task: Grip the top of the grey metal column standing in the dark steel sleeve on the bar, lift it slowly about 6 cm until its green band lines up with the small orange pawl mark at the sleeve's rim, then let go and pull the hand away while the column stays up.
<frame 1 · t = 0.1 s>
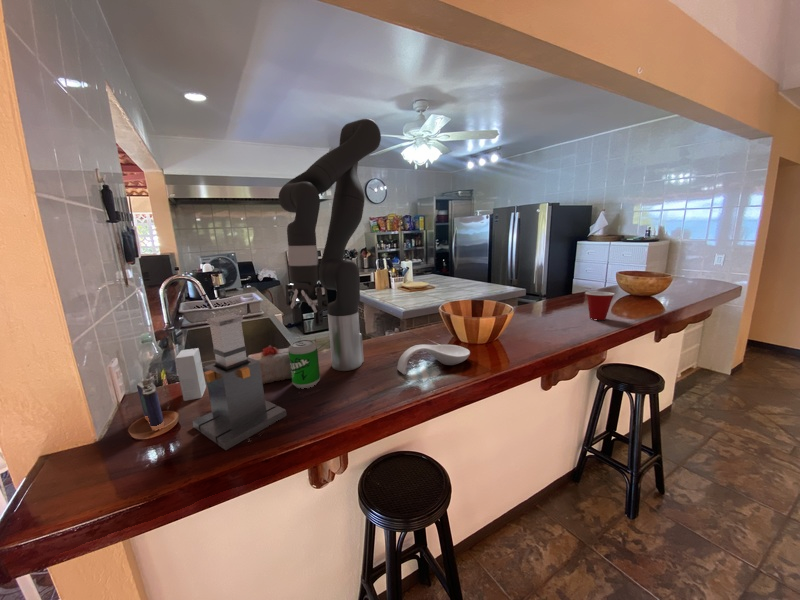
hand: (307, 323, 86), 17 cm above the countertop, tool pointing down, fingers open, 8 cm apart
spoon rest: (434, 365, 99), on the countertop
stand: (241, 421, 72), on the countertop
plastic cup: (597, 319, 140), on the countertop
column: (233, 370, 70), point 12 cm above the countertop, slide at 0.0 cm
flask: (155, 423, 73), on the countertop
skincare box: (195, 395, 85), on the countertop
food item: (274, 379, 93), on the countertop
soda can: (306, 384, 89), on the countertop
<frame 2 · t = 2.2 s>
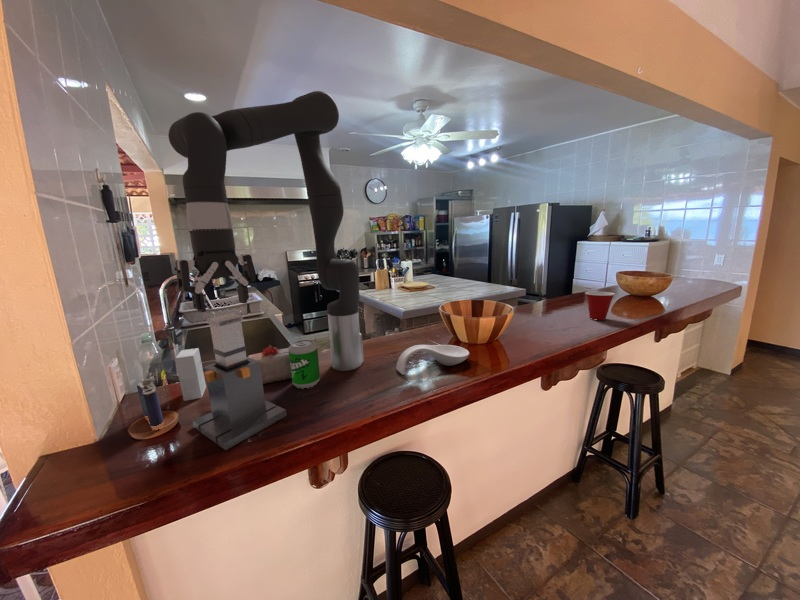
hand: (223, 307, 67), 27 cm above the countertop, tool pointing down, fingers open, 8 cm apart
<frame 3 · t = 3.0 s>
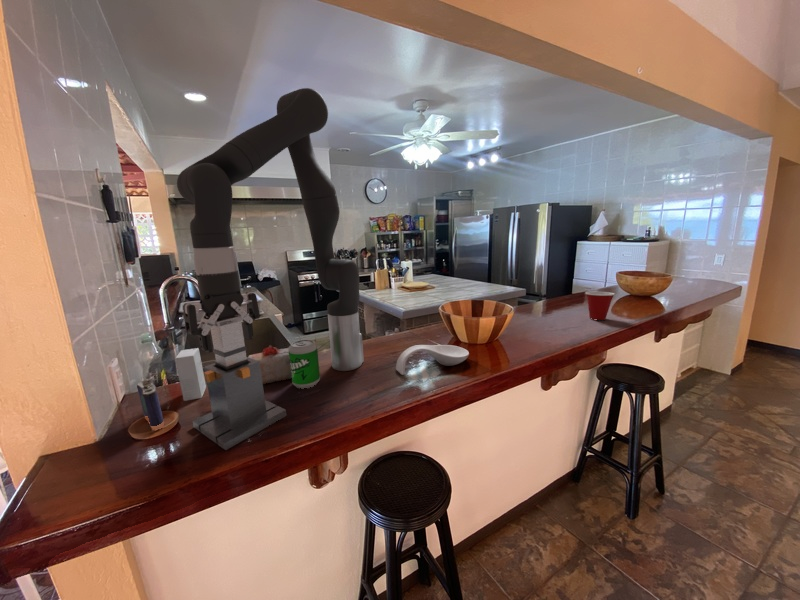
hand: (229, 345, 68), 18 cm above the countertop, tool pointing down, fingers open, 8 cm apart
nothing on the countertop moved.
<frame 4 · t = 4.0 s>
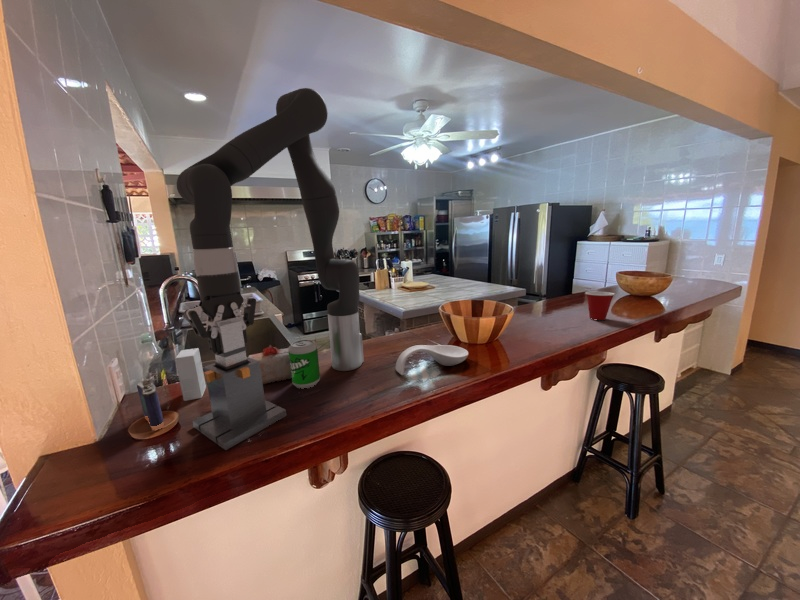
hand: (229, 349, 69), 17 cm above the countertop, tool pointing down, fingers closed on column, 4 cm apart
column: (233, 370, 70), point 12 cm above the countertop, slide at 0.0 cm, touching gripper
everything else where it was.
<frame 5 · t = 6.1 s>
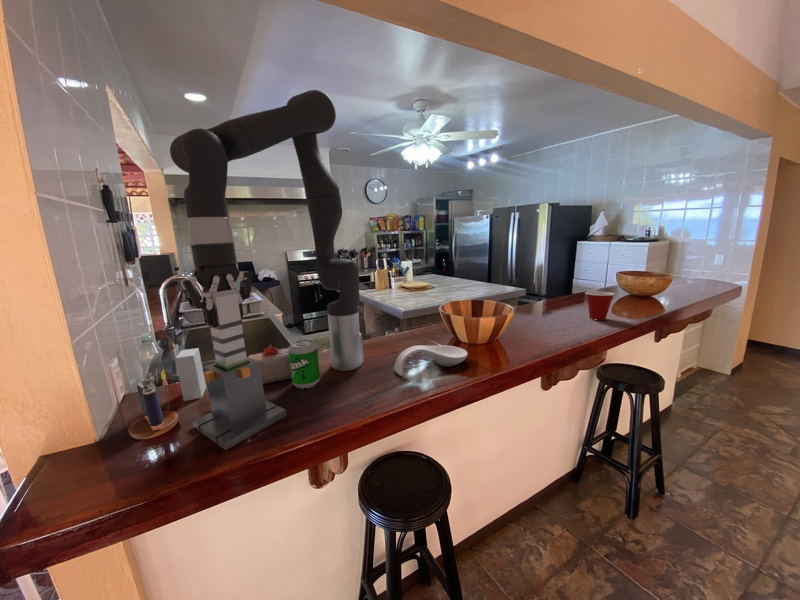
hand: (225, 323, 67), 23 cm above the countertop, tool pointing down, fingers closed on column, 4 cm apart
column: (229, 345, 68), point 18 cm above the countertop, slide at 5.9 cm, touching gripper
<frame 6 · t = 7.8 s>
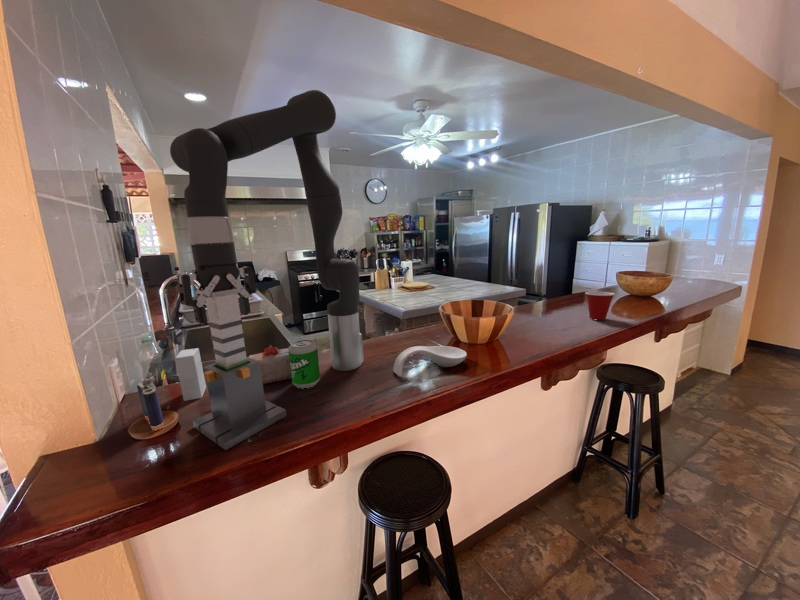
hand: (225, 319, 67), 24 cm above the countertop, tool pointing down, fingers open, 8 cm apart
column: (229, 345, 68), point 18 cm above the countertop, slide at 5.9 cm
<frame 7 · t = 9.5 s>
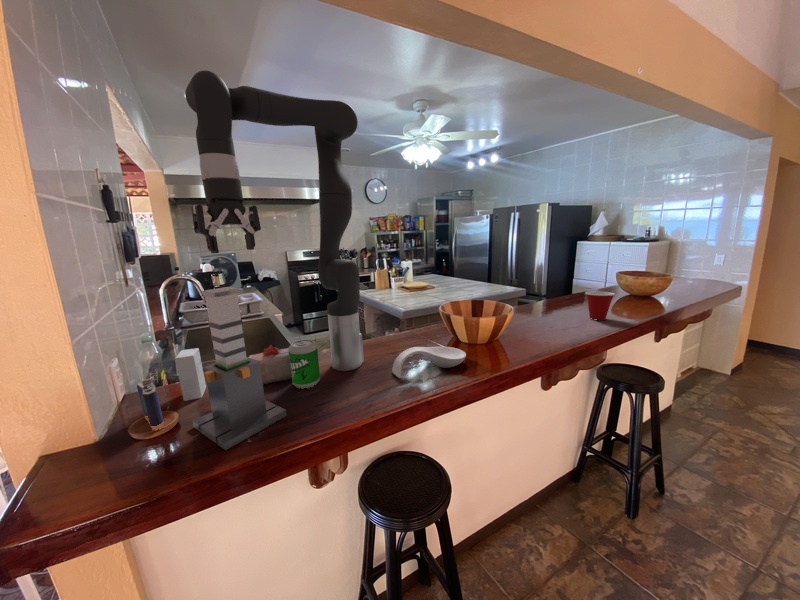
hand: (233, 251, 75), 38 cm above the countertop, tool pointing down, fingers open, 8 cm apart
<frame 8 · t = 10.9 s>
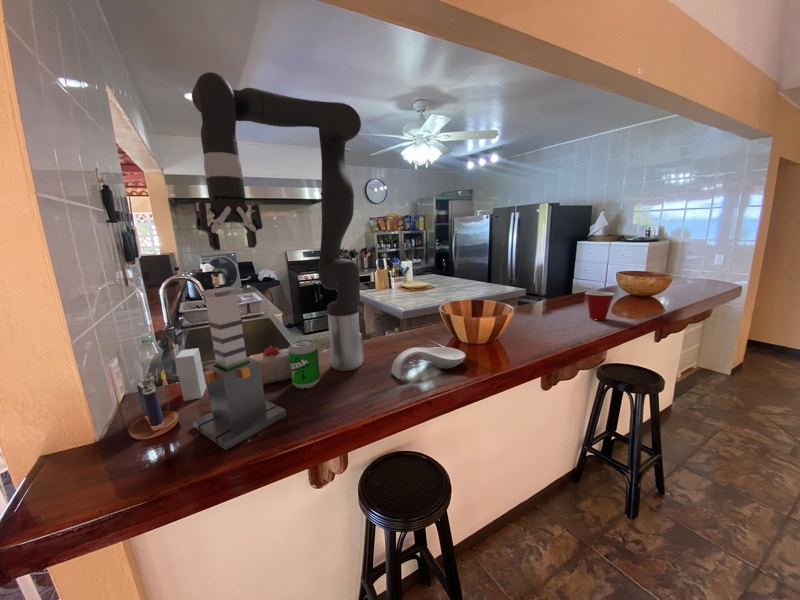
hand: (235, 248, 76), 38 cm above the countertop, tool pointing down, fingers open, 8 cm apart
at the end: column slide at 5.9 cm; the gripper is holding nothing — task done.
